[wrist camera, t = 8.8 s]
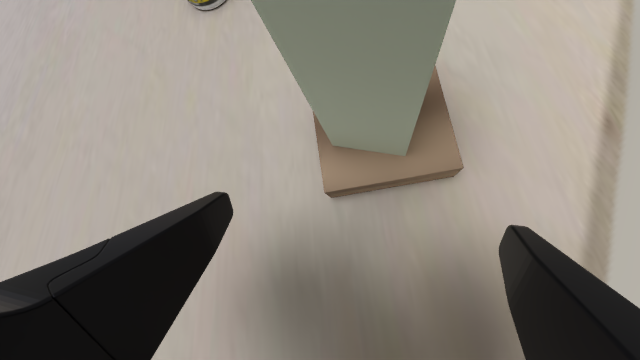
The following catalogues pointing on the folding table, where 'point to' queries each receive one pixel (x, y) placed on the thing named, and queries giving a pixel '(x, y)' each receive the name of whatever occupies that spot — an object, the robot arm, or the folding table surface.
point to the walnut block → (394, 170)
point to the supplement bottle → (206, 4)
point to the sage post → (361, 63)
